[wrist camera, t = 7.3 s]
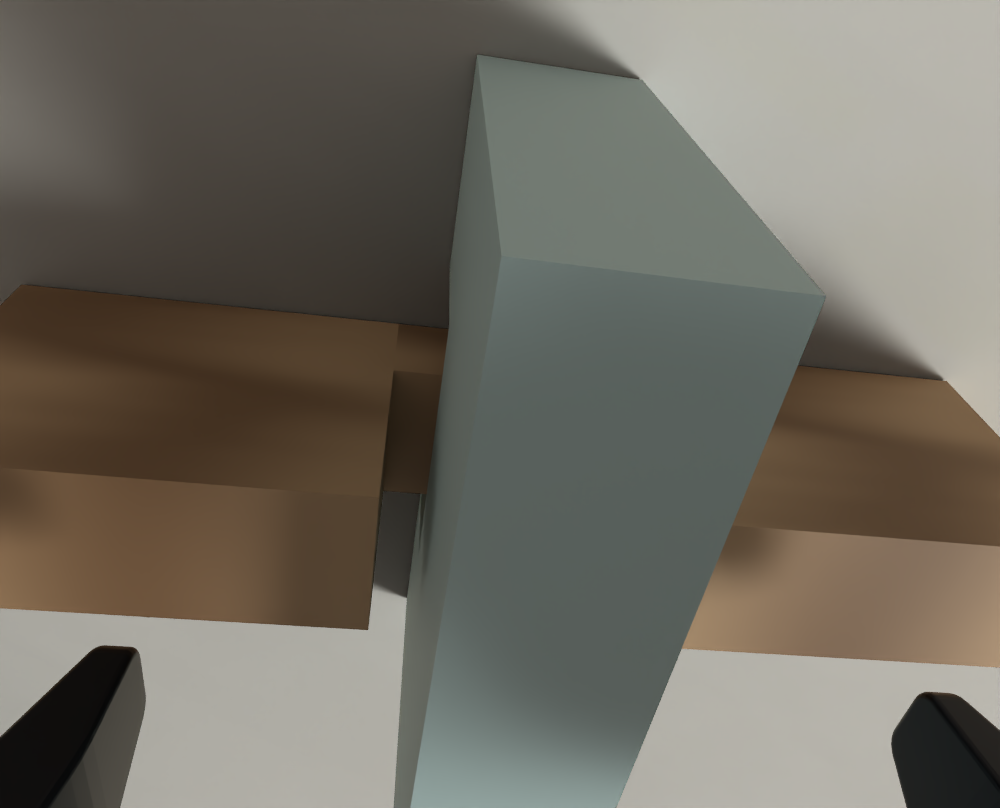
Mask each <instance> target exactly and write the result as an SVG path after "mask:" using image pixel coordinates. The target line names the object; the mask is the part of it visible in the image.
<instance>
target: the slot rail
mask: <svg viewBox="0 0 1000 808" xmlns="http://www.w3.org/2000/svg"><path fill="white" fill-rule="evenodd" d="M448 331H449V329H442V328H433V327H423V326H414V325H404V324H395V323H385V322H376V321H366V320H356V319H347V318H337V317H328V316H318V315H309V314H299V313H289V312H280V311H270V310H261V309H251V308H242V307H232V306H223V305H213V304H203V303H194V302H184V301H175V300H165V299H156V298H146V297H136V296H127V295H117V294H108V293H98V292H89V291H79V290H69V289H60V288H50V287H41V286H31V285H21V286H20V287H19V288H18V289H17V290H16V291H15V292H14V293H13V294H12V295H11V296H10V297H8V298H7V299H6V300H5V301H4V302H3V303H2V304H1V305H0V608H6V609H23V610H40V611H57V612H74V613H91V614H108V615H124V616H141V617H158V618H175V619H192V620H209V621H226V622H242V623H259V624H276V625H293V626H310V627H327V628H344V629H360V630H368V626H369V616H370V607H371V598H372V589H373V580H374V570H375V561H376V552H377V543H378V534H379V524H380V515H381V506H382V497H383V491H392V492H405V493H417V494H427V487H428V480H429V472H430V465H431V457H432V450H433V442H434V435H435V428H436V420H437V413H438V405H439V398H440V390H441V383H442V375H443V368H444V361H445V353H446V346H447V338H448ZM682 649H697V650H714V651H731V652H748V653H765V654H782V655H798V656H815V657H832V658H849V659H866V660H883V661H900V662H916V663H933V664H950V665H967V666H984V667H1000V437H999V436H998V435H997V434H996V433H995V432H994V431H993V430H992V429H991V428H990V427H989V426H988V424H987V423H986V422H985V421H984V420H983V419H982V418H981V417H980V416H979V415H978V414H977V413H976V412H975V411H974V410H973V409H972V408H971V406H970V405H969V404H968V403H967V402H966V401H965V400H964V399H963V398H962V397H961V396H960V395H959V394H958V393H957V392H956V391H955V390H954V388H953V387H952V386H951V385H950V384H949V383H948V382H947V381H940V380H930V379H921V378H911V377H902V376H892V375H882V374H873V373H863V372H854V371H844V370H835V369H825V368H816V367H806V366H797V369H796V371H795V374H794V376H793V378H792V381H791V383H790V386H789V388H788V391H787V393H786V395H785V398H784V400H783V403H782V405H781V408H780V410H779V412H778V415H777V417H776V420H775V422H774V425H773V427H772V430H771V432H770V434H769V437H768V439H767V442H766V444H765V447H764V449H763V451H762V454H761V456H760V459H759V461H758V464H757V466H756V468H755V471H754V473H753V476H752V478H751V481H750V483H749V486H748V488H747V490H746V493H745V495H744V498H743V500H742V503H741V505H740V507H739V510H738V512H737V515H736V517H735V520H734V522H733V525H732V527H731V529H730V532H729V534H728V537H727V539H726V542H725V544H724V546H723V549H722V551H721V554H720V556H719V559H718V561H717V563H716V566H715V568H714V571H713V573H712V576H711V578H710V581H709V583H708V585H707V588H706V590H705V593H704V595H703V598H702V600H701V602H700V605H699V607H698V610H697V612H696V615H695V617H694V619H693V622H692V624H691V627H690V629H689V632H688V634H687V637H686V639H685V641H684V644H683V646H682Z"/></svg>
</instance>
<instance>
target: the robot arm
mask: <svg viewBox="0 0 1000 808" xmlns="http://www.w3.org/2000/svg"><path fill="white" fill-rule="evenodd" d="M145 703H146V695H145V687H144V680H143V673H142V666H141V659H140V655H139V652H138V651H137V649H135V648H133V647H123V646H99V647H97V648H95V649H93V650H92V651H90V652H89V653H88V654H87V655H86V656H85V657H84V658H83V659H82V660H81V661H80V662H79V663H78V664H77V665H75V666H74V667H73V668H72V669H71V670H70V671H69V672H68V673H67V674H66V675H65V676H64V677H63V678H62V679H61V680H60V681H59V682H58V683H56V684H55V685H54V686H53V687H52V688H51V689H50V690H49V691H48V692H47V693H46V694H45V695H44V696H43V697H42V698H41V699H40V700H39V701H38V702H36V703H35V704H34V705H33V706H32V707H31V708H30V709H29V710H28V711H27V712H26V713H25V714H24V715H23V716H22V717H21V718H20V719H19V720H18V721H16V722H15V723H14V724H13V725H12V726H11V727H10V728H9V729H8V730H7V731H6V732H5V733H4V734H3V735H2V736H1V737H0V808H120V806H121V802H122V798H123V794H124V790H125V786H126V782H127V778H128V775H129V771H130V767H131V763H132V759H133V755H134V751H135V747H136V744H137V740H138V736H139V732H140V728H141V724H142V720H143V716H144V711H145ZM891 745H892V754H893V758H894V761H895V765H896V769H897V773H898V777H899V780H900V784H901V788H902V792H903V795H904V799H905V803H906V807H907V808H1000V730H999V729H998V728H996V727H995V726H994V725H993V724H992V723H991V722H990V721H988V720H987V719H986V718H985V717H984V716H983V715H981V714H980V713H979V712H978V711H977V710H976V709H974V708H973V707H972V706H971V705H970V704H969V703H967V702H966V701H965V700H964V699H962V698H961V697H959V696H957V695H955V694H951V693H938V692H924V693H921V694H919V695H918V696H917V697H916V698H915V700H914V701H913V703H912V704H911V706H910V707H909V709H908V710H907V712H906V713H905V715H904V716H903V718H902V719H901V721H900V722H899V724H898V725H897V727H896V728H895V730H894V732H893V735H892V742H891Z"/></svg>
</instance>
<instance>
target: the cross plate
mask: <svg viewBox="0 0 1000 808" xmlns="http://www.w3.org/2000/svg"><path fill="white" fill-rule="evenodd" d="M825 298H826V295H825V294H824V293H823V292H822V291H821V290H820V288H819V287H818V286H817V285H816V284H815V283H814V281H813V280H812V279H811V278H810V277H809V275H808V274H807V273H806V272H805V271H804V270H803V268H802V267H801V266H800V265H799V264H798V263H797V261H796V260H795V259H794V258H793V257H792V255H791V254H790V253H789V252H788V251H787V250H786V248H785V247H784V246H783V245H782V244H781V243H780V241H779V240H778V239H777V238H776V237H775V236H774V234H773V233H772V232H771V231H770V230H769V228H768V227H767V226H766V225H765V224H764V223H763V221H762V220H761V219H760V218H759V217H758V216H757V214H756V213H755V212H754V211H753V210H752V208H751V207H750V206H749V205H748V204H747V203H746V201H745V200H744V199H743V198H742V197H741V196H740V194H739V193H738V192H737V191H736V190H735V189H734V187H733V186H732V185H731V184H730V183H729V181H728V180H727V179H726V178H725V177H724V176H723V174H722V173H721V172H720V171H719V170H718V169H717V167H716V166H715V165H714V164H713V163H712V161H711V160H710V159H709V158H708V157H707V156H706V154H705V153H704V152H703V151H702V150H701V149H700V147H699V146H698V145H697V144H696V143H695V141H694V140H693V139H692V138H691V137H690V136H689V134H688V133H687V132H686V131H685V130H684V129H683V127H682V126H681V125H680V124H679V123H678V122H677V120H676V119H675V118H674V117H673V116H672V114H671V113H670V112H669V111H668V110H667V109H666V107H665V106H664V105H663V104H662V103H661V102H660V100H659V99H658V98H657V97H656V96H655V94H654V93H653V92H652V91H651V90H650V89H649V87H648V86H647V85H646V84H645V83H644V82H643V80H639V79H633V78H626V77H620V76H613V75H607V74H600V73H594V72H587V71H581V70H574V69H568V68H562V67H555V66H549V65H542V64H536V63H529V62H523V61H516V60H510V59H503V58H497V57H490V56H484V55H477V59H476V67H475V75H474V83H473V90H472V98H471V106H470V114H469V121H468V129H467V137H466V145H465V152H464V160H463V168H462V176H461V183H460V191H459V199H458V207H457V214H456V222H455V230H454V238H453V245H452V253H451V261H450V297H449V331H448V338H447V346H446V353H445V361H444V368H443V375H442V383H441V390H440V398H439V405H438V413H437V420H436V428H435V435H434V442H433V450H432V457H431V465H430V472H429V480H428V487H427V494H420V501H419V509H418V517H417V524H416V532H415V540H414V548H413V555H412V563H411V571H410V579H409V587H408V594H407V605H406V621H405V637H404V653H403V668H402V684H401V700H400V716H399V732H398V748H397V764H396V780H395V796H394V808H616V807H617V805H618V802H619V800H620V797H621V795H622V792H623V790H624V788H625V785H626V783H627V780H628V778H629V775H630V773H631V770H632V768H633V766H634V763H635V761H636V758H637V756H638V753H639V751H640V749H641V746H642V744H643V741H644V739H645V736H646V734H647V731H648V729H649V727H650V724H651V722H652V719H653V717H654V714H655V712H656V710H657V707H658V705H659V702H660V700H661V697H662V695H663V693H664V690H665V688H666V685H667V683H668V680H669V678H670V675H671V673H672V671H673V668H674V666H675V663H676V661H677V658H678V656H679V654H680V651H681V649H682V646H683V644H684V641H685V639H686V637H687V634H688V632H689V629H690V627H691V624H692V622H693V619H694V617H695V615H696V612H697V610H698V607H699V605H700V602H701V600H702V598H703V595H704V593H705V590H706V588H707V585H708V583H709V581H710V578H711V576H712V573H713V571H714V568H715V566H716V563H717V561H718V559H719V556H720V554H721V551H722V549H723V546H724V544H725V542H726V539H727V537H728V534H729V532H730V529H731V527H732V525H733V522H734V520H735V517H736V515H737V512H738V510H739V507H740V505H741V503H742V500H743V498H744V495H745V493H746V490H747V488H748V486H749V483H750V481H751V478H752V476H753V473H754V471H755V468H756V466H757V464H758V461H759V459H760V456H761V454H762V451H763V449H764V447H765V444H766V442H767V439H768V437H769V434H770V432H771V430H772V427H773V425H774V422H775V420H776V417H777V415H778V412H779V410H780V408H781V405H782V403H783V400H784V398H785V395H786V393H787V391H788V388H789V386H790V383H791V381H792V378H793V376H794V374H795V371H796V369H797V366H798V364H799V361H800V359H801V356H802V354H803V352H804V349H805V347H806V344H807V342H808V339H809V337H810V335H811V332H812V330H813V327H814V325H815V322H816V320H817V318H818V315H819V313H820V310H821V308H822V305H823V303H824V300H825Z"/></svg>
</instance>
